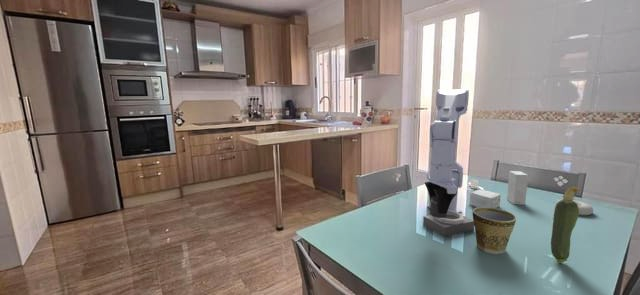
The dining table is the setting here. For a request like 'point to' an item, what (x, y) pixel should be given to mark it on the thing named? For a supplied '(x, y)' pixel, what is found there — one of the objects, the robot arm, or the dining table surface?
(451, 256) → the dining table surface
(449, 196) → the robot arm
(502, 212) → the ceramic cup
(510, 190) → the skincare box
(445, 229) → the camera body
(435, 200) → the lens
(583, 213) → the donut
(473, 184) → the teacup and saucer
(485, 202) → the small box
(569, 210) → the vegetable
